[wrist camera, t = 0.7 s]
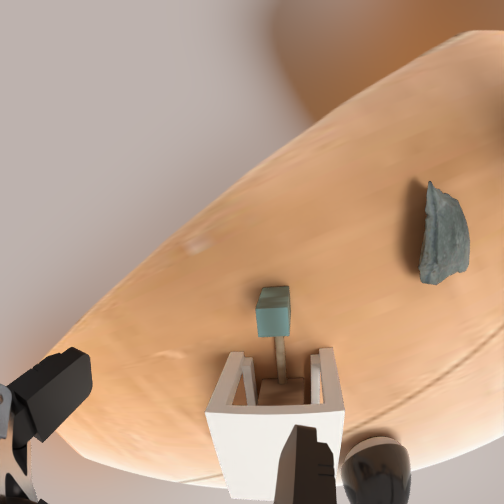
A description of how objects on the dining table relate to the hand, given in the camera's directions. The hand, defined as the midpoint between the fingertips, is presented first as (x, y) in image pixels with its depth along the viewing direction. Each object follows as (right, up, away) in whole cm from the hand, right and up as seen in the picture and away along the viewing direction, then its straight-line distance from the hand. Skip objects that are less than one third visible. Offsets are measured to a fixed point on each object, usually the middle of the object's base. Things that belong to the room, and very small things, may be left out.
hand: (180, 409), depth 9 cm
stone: (+24, +7, +19) cm, 31 cm away
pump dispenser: (+21, -24, +25) cm, 41 cm away
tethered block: (+6, -6, +23) cm, 25 cm away
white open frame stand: (+7, -14, +25) cm, 29 cm away
